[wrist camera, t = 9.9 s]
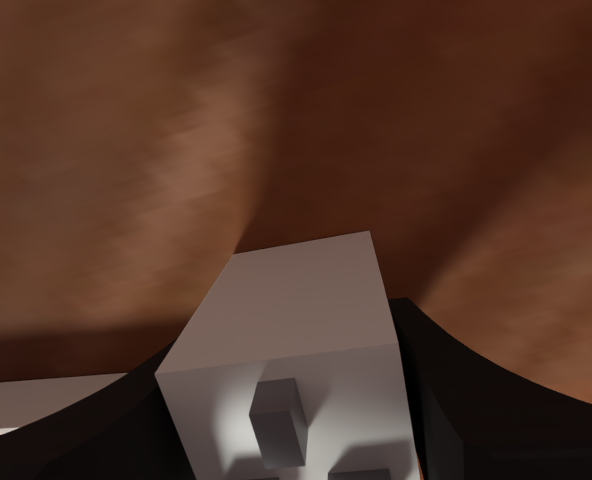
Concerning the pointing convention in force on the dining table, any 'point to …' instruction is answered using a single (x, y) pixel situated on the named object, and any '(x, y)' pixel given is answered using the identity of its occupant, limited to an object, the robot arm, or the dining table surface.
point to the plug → (293, 370)
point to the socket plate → (45, 397)
